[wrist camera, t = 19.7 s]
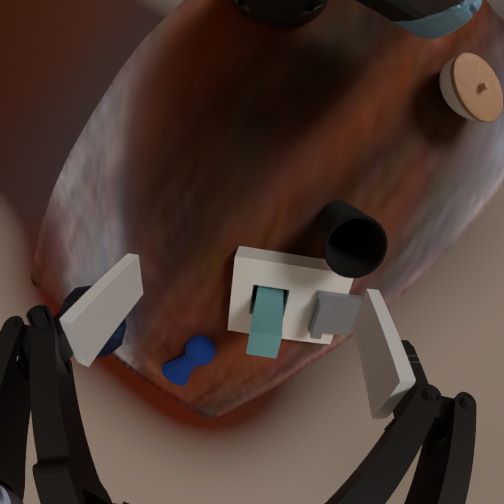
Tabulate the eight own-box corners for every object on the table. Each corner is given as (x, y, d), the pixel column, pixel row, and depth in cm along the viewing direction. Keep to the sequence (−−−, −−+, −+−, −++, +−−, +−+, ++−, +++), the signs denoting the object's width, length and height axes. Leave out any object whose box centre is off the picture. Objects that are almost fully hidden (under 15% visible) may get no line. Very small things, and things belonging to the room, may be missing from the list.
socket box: (239, 245, 44) (235, 256, 40) (349, 263, 43) (354, 274, 39) (231, 316, 49) (227, 329, 46) (327, 330, 48) (330, 344, 45)
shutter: (317, 290, 40) (320, 303, 37) (361, 295, 40) (366, 308, 37) (307, 326, 43) (308, 340, 40) (347, 331, 43) (351, 345, 40)
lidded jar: (466, 134, 31) (500, 137, 22) (421, 95, 30) (452, 88, 22) (481, 88, 27) (514, 85, 18) (438, 49, 26) (467, 36, 17)
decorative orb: (78, 260, 42) (35, 324, 35) (141, 310, 45) (98, 378, 37) (90, 279, 55) (55, 330, 47) (140, 318, 57) (107, 371, 49)
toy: (187, 373, 59) (224, 346, 53) (179, 393, 53) (217, 369, 47) (163, 357, 58) (197, 327, 52) (153, 376, 52) (187, 349, 46)
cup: (344, 250, 42) (363, 288, 31) (304, 227, 41) (310, 261, 30) (370, 209, 39) (399, 236, 28) (329, 184, 38) (347, 202, 27)
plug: (259, 277, 45) (249, 331, 33) (283, 281, 45) (282, 336, 32) (256, 297, 47) (246, 353, 34) (279, 300, 47) (276, 358, 34)
